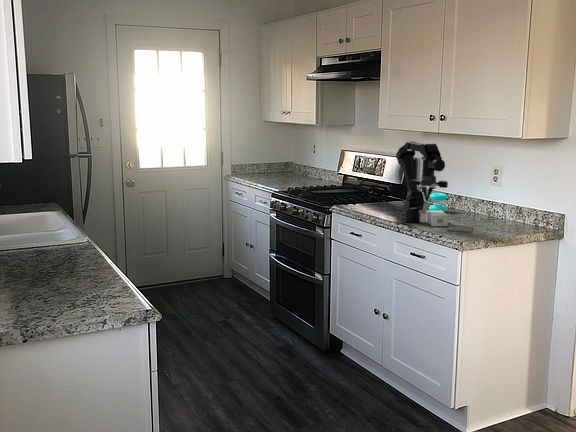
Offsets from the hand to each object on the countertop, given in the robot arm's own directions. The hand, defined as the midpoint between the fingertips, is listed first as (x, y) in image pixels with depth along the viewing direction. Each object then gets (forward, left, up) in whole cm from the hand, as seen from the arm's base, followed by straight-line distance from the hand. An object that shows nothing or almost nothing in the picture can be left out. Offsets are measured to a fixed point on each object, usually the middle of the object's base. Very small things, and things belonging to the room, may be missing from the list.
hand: (427, 200), depth 297 cm
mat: (+17, 0, -13) cm, 21 cm away
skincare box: (+7, +2, -10) cm, 12 cm away
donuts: (0, +49, -13) cm, 50 cm away
